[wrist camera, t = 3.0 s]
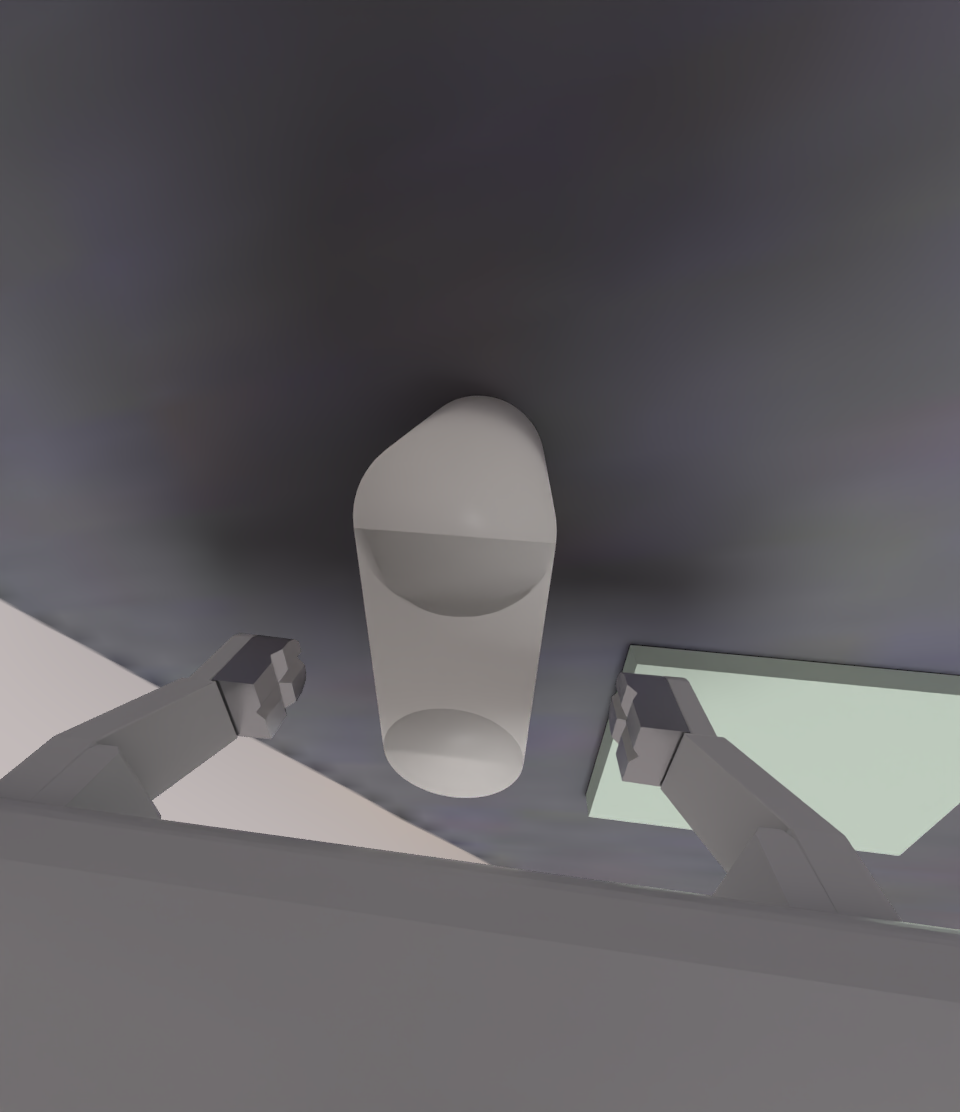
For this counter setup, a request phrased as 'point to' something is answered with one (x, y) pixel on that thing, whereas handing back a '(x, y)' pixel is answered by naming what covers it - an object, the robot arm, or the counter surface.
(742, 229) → the counter surface
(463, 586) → the connector
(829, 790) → the green mat
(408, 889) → the robot arm
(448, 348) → the counter surface
